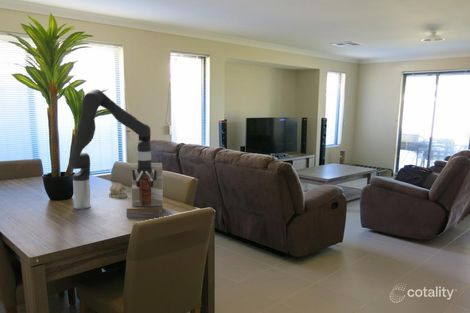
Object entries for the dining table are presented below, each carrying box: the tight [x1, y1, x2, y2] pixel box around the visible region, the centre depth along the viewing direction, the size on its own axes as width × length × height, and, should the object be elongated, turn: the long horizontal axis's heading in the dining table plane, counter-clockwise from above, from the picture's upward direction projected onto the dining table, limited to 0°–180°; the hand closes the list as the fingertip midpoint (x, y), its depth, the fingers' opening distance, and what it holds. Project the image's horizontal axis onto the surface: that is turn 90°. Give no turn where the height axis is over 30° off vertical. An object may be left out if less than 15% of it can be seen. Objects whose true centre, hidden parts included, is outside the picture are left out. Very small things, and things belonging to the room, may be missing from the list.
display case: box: [126, 162, 164, 218], centre depth 210 cm, size 18×18×28 cm
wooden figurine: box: [139, 174, 151, 206], centre depth 211 cm, size 12×6×18 cm, turn 23°
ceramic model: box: [108, 181, 128, 199], centre depth 249 cm, size 14×11×10 cm
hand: (144, 187), depth 211 cm, fingers closed on wooden figurine, 7 cm apart
